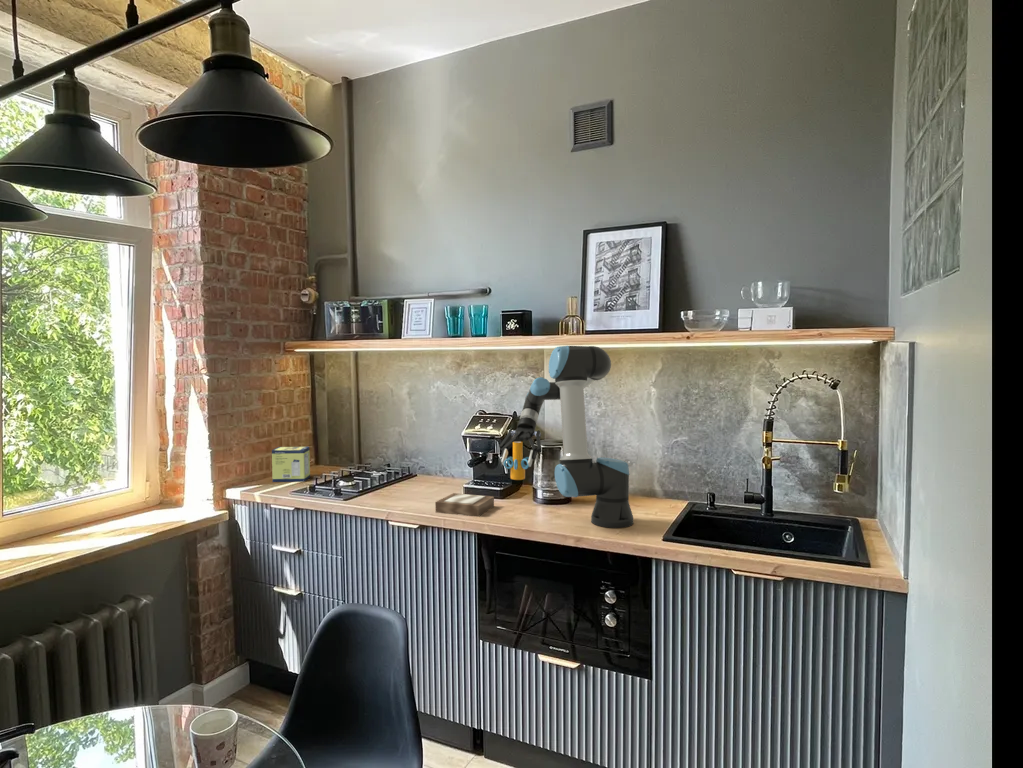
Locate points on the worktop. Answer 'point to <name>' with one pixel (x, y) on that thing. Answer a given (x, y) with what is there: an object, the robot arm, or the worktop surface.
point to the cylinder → (517, 462)
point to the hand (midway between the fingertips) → (515, 464)
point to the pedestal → (465, 504)
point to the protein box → (290, 464)
